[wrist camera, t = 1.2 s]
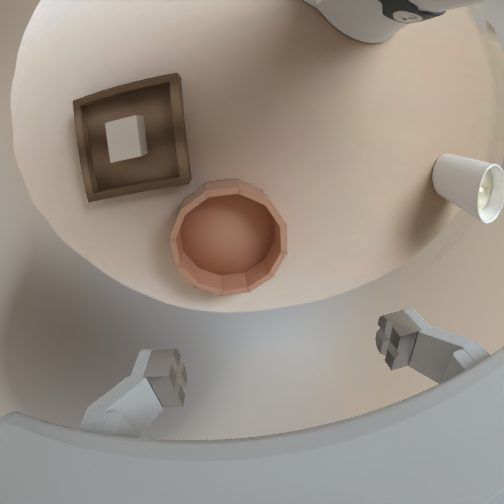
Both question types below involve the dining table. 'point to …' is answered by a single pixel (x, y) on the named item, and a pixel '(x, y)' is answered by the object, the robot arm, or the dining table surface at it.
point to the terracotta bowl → (228, 238)
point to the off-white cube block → (126, 138)
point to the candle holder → (470, 185)
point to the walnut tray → (157, 136)
